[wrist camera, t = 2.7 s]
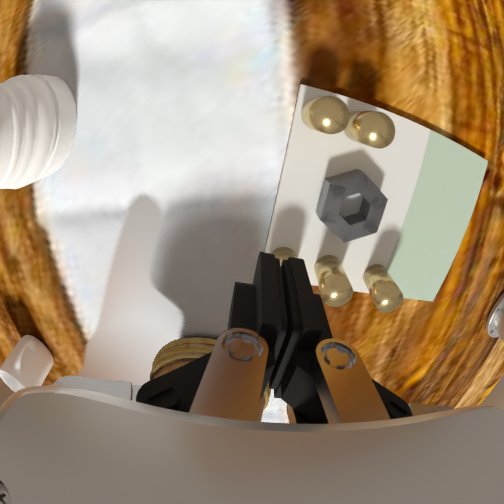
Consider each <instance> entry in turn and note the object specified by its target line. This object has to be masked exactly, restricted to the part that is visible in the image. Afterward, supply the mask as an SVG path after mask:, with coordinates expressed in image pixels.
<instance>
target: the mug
mask: <svg viewBox="0 0 504 504" xmlns="http://www.w3.org/2000/svg"><path fill="white" fill-rule="evenodd" d="M52 365H53V356H52V354H51V352H50V351H49V350H48V348H47V347H46V346H45V345H44V344H43V343H42V342H41V341H40V340H38V339H37V338H35V337H33V336H31V335H25V336H23V337H22V338H21V339H20V341H19V342H18V343H17V345H16V346H15V347H14V349H13V350H12V352H11V353H10V354H9V356H8V357H7V359H6V360H5V362H4V363H3V365H2V366H1V367H0V376H1V378H2V379H3V381H4V382H5V383H6V384H7V385H8V386H9V387H10V388H11V389H12V390H13V391H14V392H17V391H19V390H21V389H24V388H28V387H34V386H41V384H42V383H43V381H44V379H45V377H46V376H47V374H48V372H49V371H50V369H51V367H52Z"/></svg>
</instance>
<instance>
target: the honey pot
mask: <svg viewBox="0 0 504 504" xmlns="http://www.w3.org/2000/svg"><path fill="white" fill-rule="evenodd" d="M76 126H77V111H76V103H75V100H74V97H73V94H72V91H71V90H70V88H69V87H68V85H67V84H66V82H64V81H63V80H62V79H60V78H59V77H56V76H51V75H19V76H15V77H12V78H9V79H8V80H6V81H5V82H3V83H0V189H5V188H7V189H18V188H21V187H24V186H26V185H27V184H30V183H32V182H35V181H37V180H39V179H42V178H44V177H46V176H48V175H51V174H52V173H54V172H55V171H56V170H58V169H59V168H60V167H61V165H62V164H63V163H64V161H65V160H66V159H67V157H68V155H69V153H70V150H71V148H72V146H73V142H74V138H75V134H76Z"/></svg>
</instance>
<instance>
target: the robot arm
mask: <svg viewBox="0 0 504 504" xmlns="http://www.w3.org/2000/svg"><path fill="white" fill-rule="evenodd" d="M486 331H487V333H488V334H489V335H490V336H491V337H499V336H500V337H501V338H502V340H503V341H504V292H503V294H502V295H501V296H500V297H499V299H498V300H497V301H496V303H495V305H494V306H493V308H492V310H491V312H490V314H489V317H488V319H487V323H486ZM268 382H269V388H270V389H274V398H281V399H282V400H284V401H285V402H286V403H287V414H288V418H289V423H290V424H287V423H268V422H255V421H256V415H257V410H258V405H259V400H260V398H262V397H263V394H264V392H265V389H266V387H267V384H268ZM0 504H504V410H503V409H500V408H496V407H492V406H469V407H462V408H456V409H454V408H452V407H448V406H437V405H426V404H417V403H410V404H409V405H408V404H407V403H406V402H405V401H404V400H403V399H401V398H400V397H398V396H397V395H395V394H394V393H392V392H391V391H389V390H388V389H386V388H385V387H383V386H382V385H380V384H379V383H377V382H376V381H374V380H373V379H372V378H371V377H370V375H369V373H368V371H367V369H366V367H365V365H364V363H363V361H362V359H361V358H360V356H359V354H358V352H357V351H356V349H355V348H354V347H352V346H351V345H350V344H348V343H347V342H345V341H342V340H339V339H333V338H332V334H331V330H330V327H329V323H328V320H327V316H326V313H325V310H324V306H323V303H322V299H321V297H320V295H319V294H313V290H312V287H311V283H310V280H309V276H308V273H307V269H306V266H305V262H304V259H300V258H294V257H289V258H288V260H284V259H283V261H282V264H281V266H280V259H278V258H275V254H270V253H264V252H260V253H259V257H258V262H257V266H256V271H255V275H254V280H253V284H246V283H239V282H235V286H234V291H233V297H232V303H231V309H230V316H229V323H228V330H226V331H224V332H223V333H222V334H220V336H219V337H218V339H217V341H216V344H215V346H214V349H213V351H212V352H210V353H208V354H206V355H204V356H202V357H200V358H198V359H196V360H193V361H191V362H189V363H187V364H185V365H183V366H181V367H179V368H177V369H174V370H172V371H170V372H168V373H166V374H164V375H161V376H159V377H157V378H155V379H152V380H150V381H148V382H147V383H145V384H144V385H142V386H136V385H132V383H131V382H125V381H112V380H103V379H94V378H85V377H78V376H65V377H62V378H60V379H58V380H57V381H56V382H55V383H54V384H53V386H34V387H28V388H24V389H21V390H19V391H17V392H15V393H14V394H12V395H11V396H10V397H9V398H8V399H7V400H6V401H5V402H4V403H3V405H2V406H1V408H0Z"/></svg>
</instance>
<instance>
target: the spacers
mask: <svg viewBox="0 0 504 504" xmlns="http://www.w3.org/2000/svg"><path fill="white" fill-rule="evenodd" d="M301 118H302V121H303V122H304V124H305V125H306V126H307V127H308V128H310V129H312V130H315V131H319V132H323V133H326V134H337V133H340V132H341V131H343V130H344V132H345V134H346V136H347V137H348V138H349V139H351V140H353V141H355V142H358V143H362V144H365V145H368V146H371V147H374V148H378V149H381V148H385V147H387V146H389V145H390V144H391V143H392V141H393V139H394V137H395V126H394V123H393V121H392V119H391V118H390V117H389V116H388V115H387V114H385V113H383V112H380V111H353V112H351V113H349V109H348V107H347V105H346V104H345V103H344V102H343V101H342V100H341V99H339V98H338V97H335V96H323V97H319V98H316V99H313V100H310V101H308V102H307V103H305V105H304V106H303V108H302V110H301ZM271 254H275V258H278V259H280V266H281V264H282V261H283V259H284V260H288V258H289V257H294V258H297V255H296V253H295V252H294V251H293V250H292V249H291V248H288V247H279V248H276V249H274V250H273V251H272V252H271ZM314 271H315V275H316V278H317V281H318V285H319V288H320V291H321V295H322V298H323V301H324V302H325V303H326V304H327V305H329V306H332V307H338V306H342V305H344V304H346V303H347V302H348V301H349V300H350V299H351V297H352V295H353V288H352V286H351V284H350V281H349V279H348V277H347V275H346V273H345V271H344V269H343V267H342V264H341V262H340V260H339V259H338V258H337V257H335V256H333V255H325V256H322V257H321V258H319V259H318V260H317V261H316V263H315V266H314ZM363 281H364V283H365V285H366V287H367V289H368V291H369V292H370V294H371V296H372V298H373V300H374V302H375V304H376V306H377V308H378V310H379V311H381V312H383V313H388V312H391V311H394V310H395V309H397V308H398V307H399V306H400V304H401V303H402V300H403V294H402V292H401V290H400V289H399V287H398V286H397V284H396V283H395V281H394V280H393V278H392V277H391V275H390V274H389V273H388V271H387V270H386V268H385V267H384V266H383V265H381V264H373V265H371V266H369V267H368V268H367V269H366V270H365V272H364V274H363Z"/></svg>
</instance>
